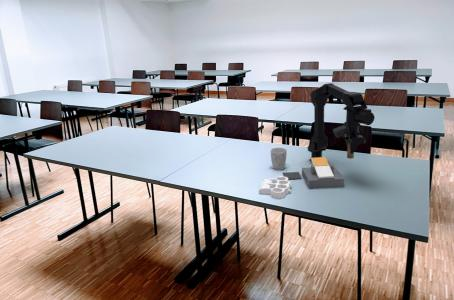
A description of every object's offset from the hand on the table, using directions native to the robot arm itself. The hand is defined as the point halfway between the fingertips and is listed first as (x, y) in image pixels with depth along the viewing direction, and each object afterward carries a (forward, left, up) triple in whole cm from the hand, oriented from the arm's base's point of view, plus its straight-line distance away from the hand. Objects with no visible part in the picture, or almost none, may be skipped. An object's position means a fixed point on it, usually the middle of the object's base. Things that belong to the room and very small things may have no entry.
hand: (350, 152), depth 164 cm
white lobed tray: (+9, -37, -14) cm, 40 cm away
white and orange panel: (+2, -14, -6) cm, 15 cm away
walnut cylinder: (0, 0, -2) cm, 2 cm away
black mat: (-5, -27, -13) cm, 30 cm away
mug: (-19, -31, -13) cm, 39 cm away
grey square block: (+2, -14, -13) cm, 19 cm away
